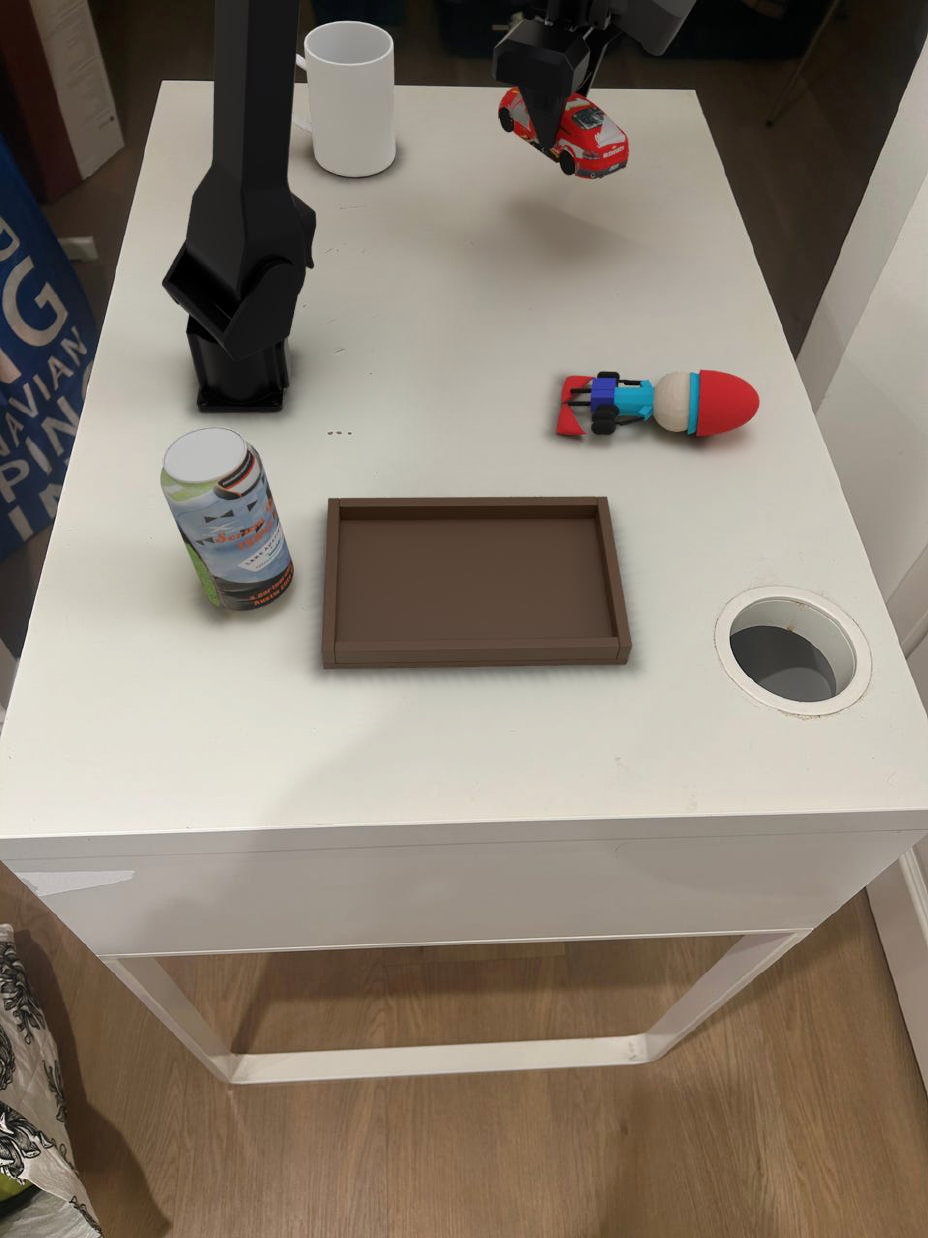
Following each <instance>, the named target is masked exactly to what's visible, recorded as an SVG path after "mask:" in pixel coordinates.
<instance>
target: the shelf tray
mask: <svg viewBox="0 0 928 1238" xmlns="http://www.w3.org/2000/svg"><path fill="white" fill-rule="evenodd" d="M325 539H326V540H325V558H324V561H325V563H324V580H323V581H324V582H323V583H324V585H323V586H324V587H323V603H322V605H323V606H322V626H321V627H322V629H321V649H320V650H321V658H322V664H323V669H324V670H325V669H326V670H327V669H328V670H329V669H330V670H331V669H333V670H334V669H385V668H388V669H389V668H391V669H392V668H442V667H445V668H448V667H450V668H452V667H453V668H454V667H456V668H457V667H511V666H567V665H569V666H571V665H575V666H577V665H579V666H580V665H625V664H626V665H627V663H628V662H629V661H628V660H629V657H630V654H631V652H632V649H633V641H632V637H631V636H632V635H631V630H630V625H629V618H628V611H627V607H626V600H625V594H624V589H623V583H622V577H621V569H620V565H619V559H618V558H619V557H618V553H617V547H616V539H615V534H614V529H613V523H612V517H611V511H610V505H609V499H608V496H595V495H594V496H593V495H592V496H591V495H590V496H588V495H587V496H586V495H585V496H583V495H582V496H460V497H459V496H446V497H445V496H442V497H439V496H435V497H433V496H431V497H430V496H429V497H425V496H423V497H421V496H419V497H418V496H417V497H414V496H413V497H328V498H327V515H326V537H325Z"/></svg>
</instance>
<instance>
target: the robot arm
mask: <svg viewBox="0 0 928 1238" xmlns="http://www.w3.org/2000/svg"><path fill="white" fill-rule="evenodd" d="M301 1H302V0H215V1H214V47H213V48H214V51H213V52H214V54H213V55H214V56H213V57H214V58H213V111H212V112H213V113H212V115H213V116H212V158H211V164H210V167H209V168H208V170H207V172H206V173H205V175H204V176H203V177H202V180H201V181H200V182H199V184H198V186H197V187H196V188H195V190H194V192H193V194H192V197H191V201H190V202H191V203H190V209H189V213H188V214H189V215H188V222H187V227H186V233H185V239H184V241H183V243H182V245H181V247H180V248H179V250H178V252H177V254H176V255H175V257H174V259H173V261H172V263H171V264H170V266H169V269H168V270H167V271H166V273H165V275H164V277H163V279H162V281H161V286H162V288H163V289H164V290H165V291H166V293H167V294H168V295H169V297H170V298H171V299H172V301H173V302H174V303H175V304H176V305H178V306H180V307H181V308H182V309H183V310H184V311H185V312H186V313H187V314H188V318H187V322H186V323H187V324H186V329H185V333H186V337H187V342H188V346H189V350H190V354H191V359H192V362H193V367H194V371H195V375H196V379H197V383H198V390H197V397H196V407H197V409H198V410H199V411H200V412H280V411H281V410H283V408H284V401H285V389H289V388H290V385H291V376H292V375H291V373H292V362H291V354H290V345H289V339H288V338H289V337H290V334H291V330H292V326H293V322H294V317H295V311H296V306H297V303H298V298H299V295H300V294H301V292H302V289H303V287H304V284H305V281H306V277H307V268H308V269H309V270H312V269H314V268H315V262H314V259H313V243H314V238H315V233H316V230H317V213H316V210H314V209H313V208H312V207H311V206H309V205H308V204H307V203H306V202H305V201H304V200H302V199H301V198H299V196H297V195H296V194H295V193H293V192H292V191H291V188H290V184H289V162H290V152H291V151H290V149H291V137H292V136H291V135H292V125H293V124H292V113H293V111H294V96H295V95H294V94H295V85H296V84H295V82H296V69H297V64H296V57H297V54H298V41H299V31H300V29H299V27H300V17H301V16H300V15H301V3H302V2H301ZM696 2H697V0H530V9H533V10H537V11H540V12H545V13H546V18H545V19H544V23H541V22H537V21H534V20H530V19H526V18H523V19H522V20H521V21H520V22H518V23H517V24H515V26H514V27H513V28H510V30H509V31H508V32H507V34H506V35H504V37H503V38H502V39H501V40H500V41H499V42H498V43H497V45H495V46H494V48H493V49H492V51H493V52H492V68H491V76H492V77H493V79H494V80H495V81H496V82H500V83H503V84H507V85H511V86H514V87H517V88H518V90H519V92H520V94H521V96H522V99H523V101H524V104H525V106H526V109H527V112H528V114H529V117H530V120H531V122H532V125H533V128H534V131H535V133H536V136H537V139H538V142H539V144H540V146H541V147H544V148H548V149H552V148H553V147H554V144H555V141H556V138H557V135H558V132H559V129H560V125H561V122H562V118H563V115H564V111H565V108H566V104H567V101H568V98H569V97H571V96H572V94H573V93H574V92H576V93H578V94H580V95H582V96H583V97H585V98H587V99H588V96H589V93H590V91H591V88H592V86H593V84H594V80H595V78H596V75H597V73H598V70H599V67H600V65H601V62H602V60H603V57H604V54H605V53H606V50H607V47H608V45H609V43H610V42H611V41H612V40H614V39H615V38H617V37H618V36H620V35H621V34H623V32H624V33H626V34H627V35H629V36H630V37H631V38H633V39H634V40H636V41H637V42H639V43H640V44H641V46H642V48H643V50H645V51H646V52H647V53H649V54H651V55H653V56H662V55H663V54H664V53H665V52H666V50H667V49H668V47H669V46H670V44H671V43H672V41H673V40H674V39H675V37H676V36H677V34H678V32H679V31H680V30H681V27H682V26H683V24H684V22H685V21H686V19H687V17H688V15H689V13H690V12H691V10H692V9H693V7H694V5H695V3H696Z"/></svg>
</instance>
